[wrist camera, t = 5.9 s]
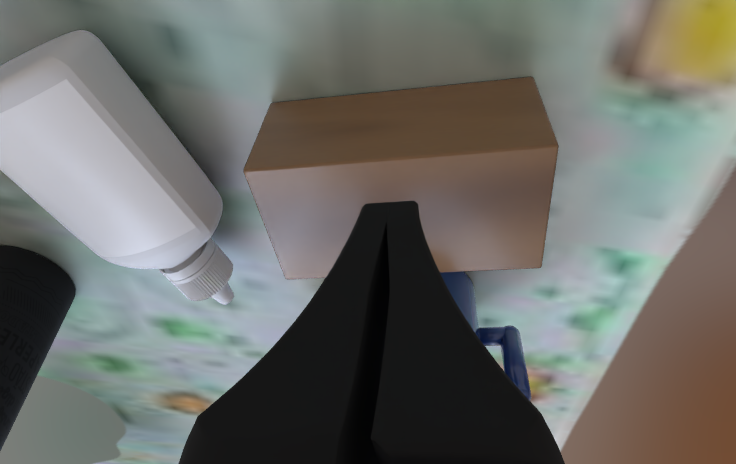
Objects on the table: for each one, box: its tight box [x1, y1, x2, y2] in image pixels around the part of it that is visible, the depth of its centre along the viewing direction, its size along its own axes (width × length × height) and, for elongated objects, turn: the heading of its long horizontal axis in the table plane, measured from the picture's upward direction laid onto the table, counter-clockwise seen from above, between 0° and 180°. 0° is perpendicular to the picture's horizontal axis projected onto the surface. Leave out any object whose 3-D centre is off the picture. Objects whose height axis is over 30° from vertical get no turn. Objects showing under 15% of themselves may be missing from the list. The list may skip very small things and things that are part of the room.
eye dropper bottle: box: [0, 30, 234, 305], centre depth 19 cm, size 4×6×12 cm
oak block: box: [244, 77, 559, 279], centre depth 17 cm, size 5×9×4 cm, turn 98°
